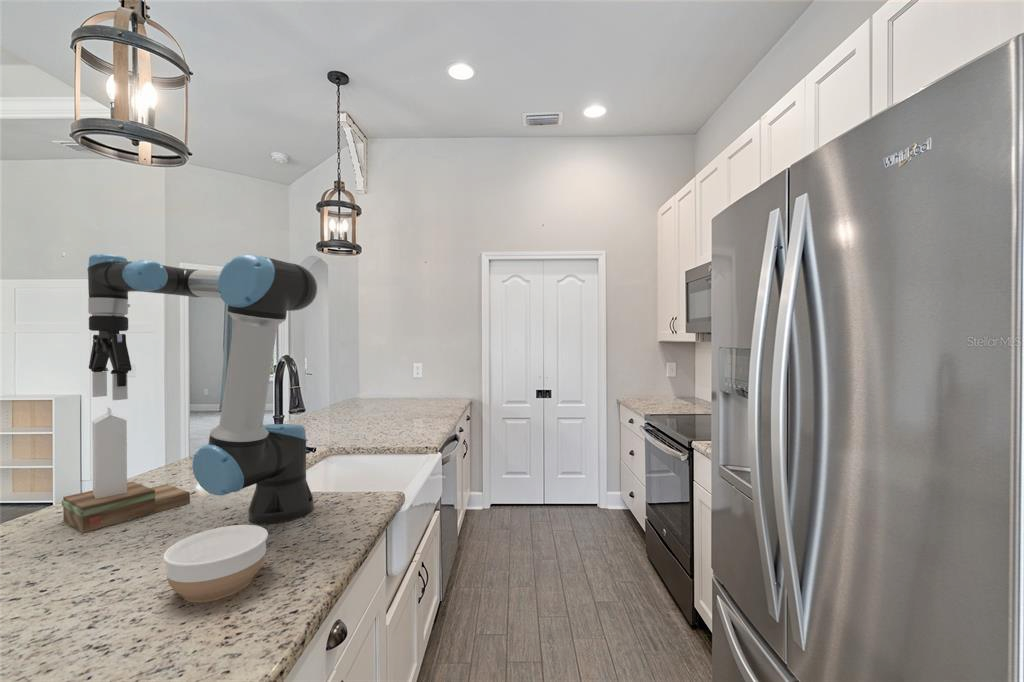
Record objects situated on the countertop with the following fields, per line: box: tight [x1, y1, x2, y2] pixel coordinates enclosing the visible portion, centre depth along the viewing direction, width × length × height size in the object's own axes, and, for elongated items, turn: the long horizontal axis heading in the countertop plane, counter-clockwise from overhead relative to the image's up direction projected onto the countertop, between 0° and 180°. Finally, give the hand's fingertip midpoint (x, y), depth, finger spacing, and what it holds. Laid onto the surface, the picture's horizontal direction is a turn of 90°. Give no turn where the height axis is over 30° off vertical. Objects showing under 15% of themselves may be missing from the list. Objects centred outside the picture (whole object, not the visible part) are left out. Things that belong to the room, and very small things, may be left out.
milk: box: [91, 406, 128, 499], centre depth 113 cm, size 6×6×22 cm
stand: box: [61, 481, 191, 534], centre depth 116 cm, size 14×22×6 cm, turn 149°
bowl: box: [162, 524, 269, 603], centre depth 81 cm, size 16×16×8 cm
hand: (109, 398), depth 113 cm, fingers open, 13 cm apart
